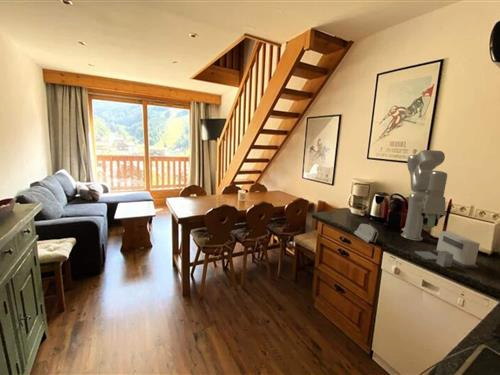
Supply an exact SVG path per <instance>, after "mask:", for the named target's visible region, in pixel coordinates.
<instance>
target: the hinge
mask: <svg viewBox="0 0 500 375" xmlns="http://www.w3.org/2000/svg"><path fill="white" fill-rule="evenodd" d="M353 234H354V235H356V236H357V237H358V238H360V239H361V240H363V241H365V242H366V243H368V244H369V243H370V242H372V243H373V244H374V243H376V241H377V240H378V239H377V238H378V236H379V231H378V230H377V228H375V227H373V226H372V225H370V224H368V223H367V224H366V223H360V224H359V226H358V227H357V229H356V230H355V231H354V232H353Z"/></svg>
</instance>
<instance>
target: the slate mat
mask: <svg viewBox="0 0 500 375" xmlns="http://www.w3.org/2000/svg"><path fill="white" fill-rule="evenodd" d="M414 254H416V255H418V256H420V257H421V258H423V259H424V260H426V261H437V257H438V255H436V254H434V253H432V252H431V251H417V250H415V251H414Z"/></svg>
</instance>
